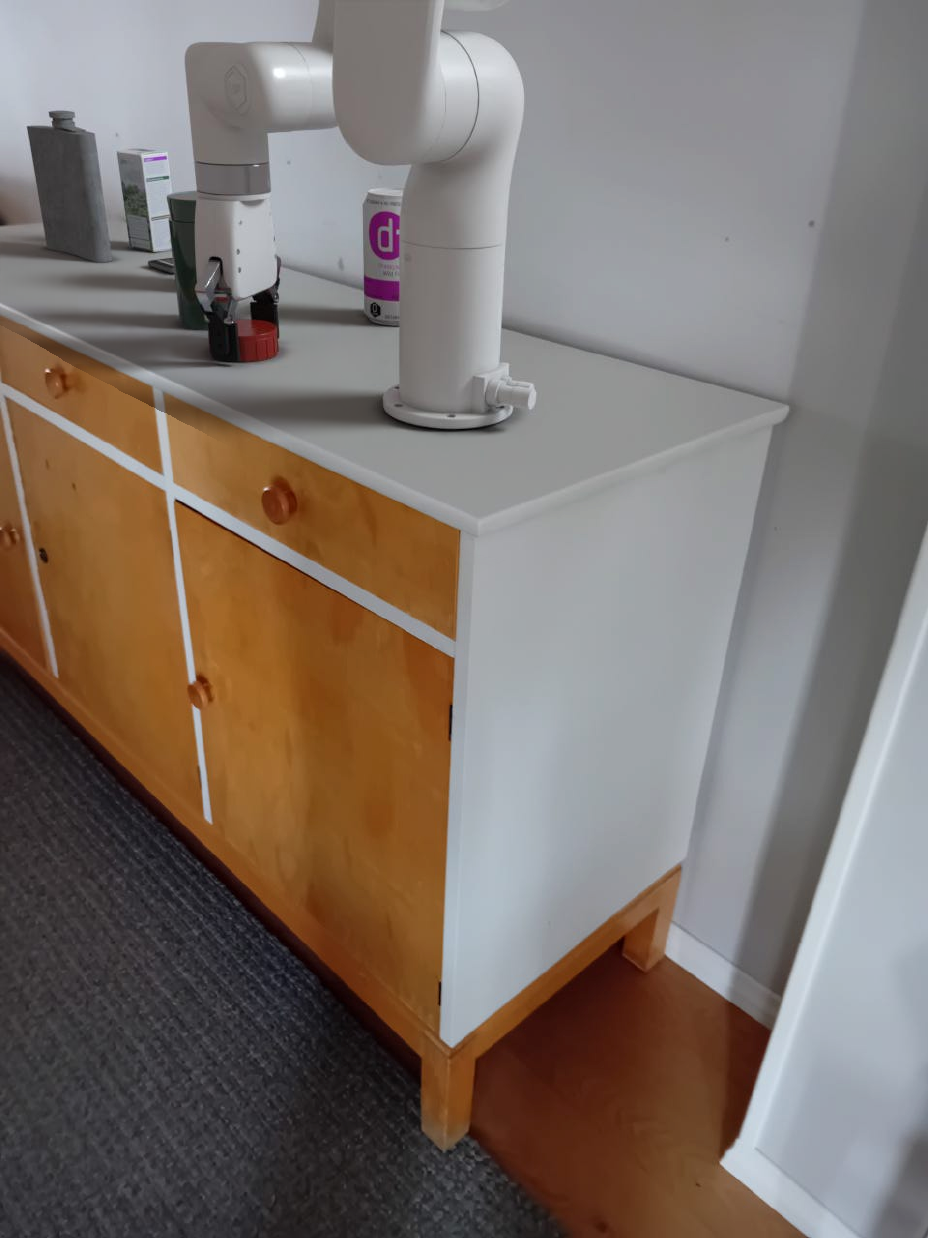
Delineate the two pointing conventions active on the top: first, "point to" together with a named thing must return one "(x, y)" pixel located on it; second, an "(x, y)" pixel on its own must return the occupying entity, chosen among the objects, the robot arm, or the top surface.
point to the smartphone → (163, 264)
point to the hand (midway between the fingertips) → (246, 348)
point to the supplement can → (382, 254)
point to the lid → (256, 340)
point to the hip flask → (70, 188)
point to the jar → (186, 260)
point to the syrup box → (146, 197)
